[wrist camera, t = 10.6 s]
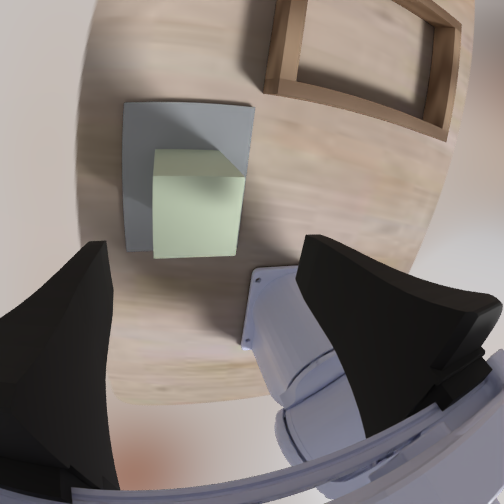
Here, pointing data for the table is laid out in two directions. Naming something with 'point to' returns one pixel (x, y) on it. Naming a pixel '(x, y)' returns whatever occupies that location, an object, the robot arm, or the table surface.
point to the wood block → (195, 204)
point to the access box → (284, 84)
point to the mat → (173, 137)
